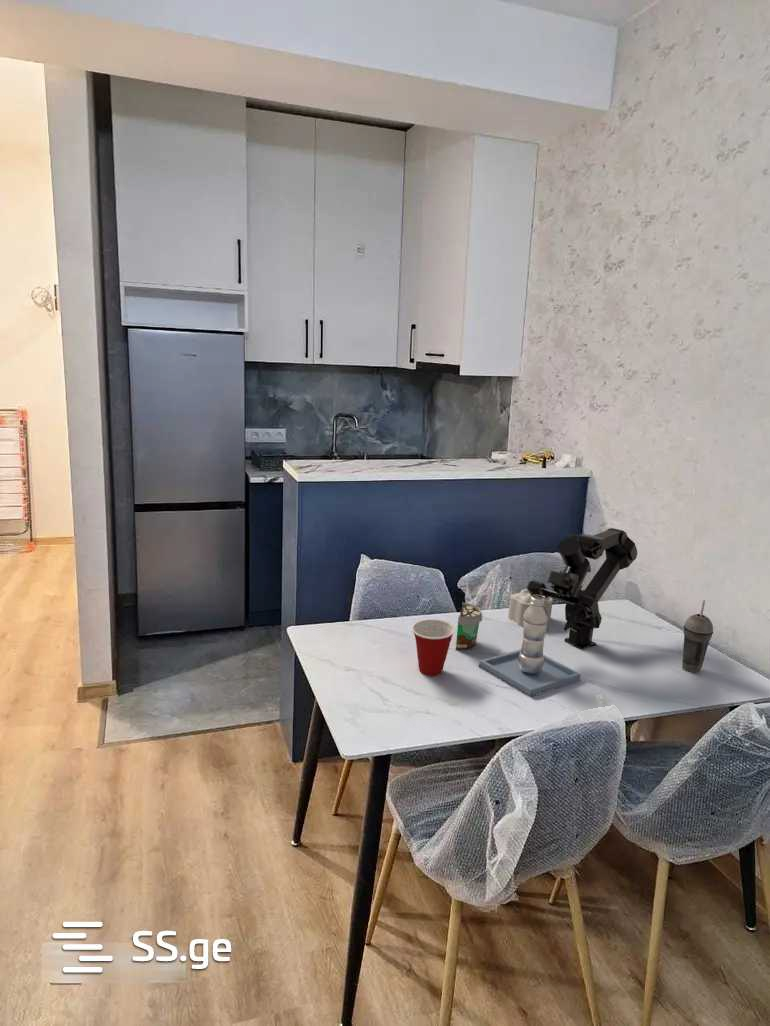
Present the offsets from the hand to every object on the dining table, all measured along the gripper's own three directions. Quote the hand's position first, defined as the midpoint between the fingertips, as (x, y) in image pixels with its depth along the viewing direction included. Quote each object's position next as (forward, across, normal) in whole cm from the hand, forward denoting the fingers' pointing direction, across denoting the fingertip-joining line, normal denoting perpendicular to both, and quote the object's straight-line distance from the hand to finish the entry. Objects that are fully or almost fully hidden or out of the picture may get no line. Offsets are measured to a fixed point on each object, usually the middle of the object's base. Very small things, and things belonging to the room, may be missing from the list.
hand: (548, 624), depth 181 cm
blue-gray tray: (+13, 0, +2) cm, 14 cm away
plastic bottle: (+13, 0, +2) cm, 13 cm away
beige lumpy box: (-10, -19, +27) cm, 34 cm away
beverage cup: (-12, +29, +28) cm, 42 cm away
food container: (+11, -21, +5) cm, 24 cm away
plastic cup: (+26, -18, -10) cm, 33 cm away
